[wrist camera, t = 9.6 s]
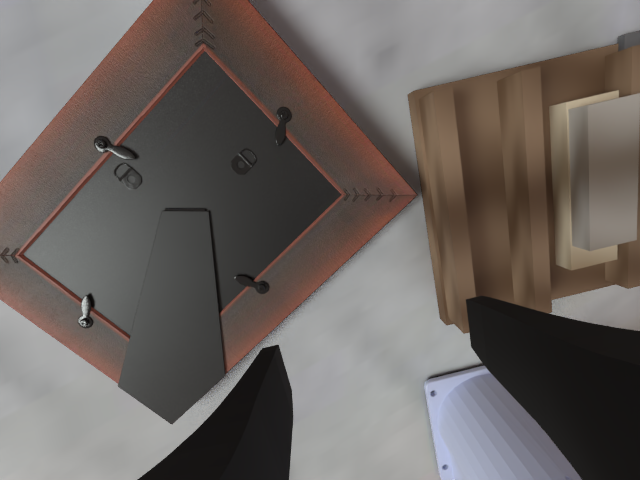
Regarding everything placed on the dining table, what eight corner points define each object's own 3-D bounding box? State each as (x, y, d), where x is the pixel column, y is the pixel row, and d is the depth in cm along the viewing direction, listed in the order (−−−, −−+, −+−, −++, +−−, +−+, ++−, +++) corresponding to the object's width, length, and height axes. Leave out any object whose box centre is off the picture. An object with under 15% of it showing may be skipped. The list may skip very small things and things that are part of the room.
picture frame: (185, 398, 23) (405, 192, 20) (171, 425, 20) (419, 195, 18) (-22, 244, 19) (212, -27, 17) (-67, 255, 17) (198, -59, 15)
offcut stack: (599, 254, 21) (637, 265, 18) (555, 264, 21) (588, 277, 18) (598, 94, 18) (642, 84, 16) (549, 106, 18) (586, 97, 16)
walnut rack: (602, 279, 22) (648, 296, 19) (440, 318, 22) (461, 341, 19) (601, 49, 19) (657, 28, 16) (407, 94, 18) (428, 81, 16)
